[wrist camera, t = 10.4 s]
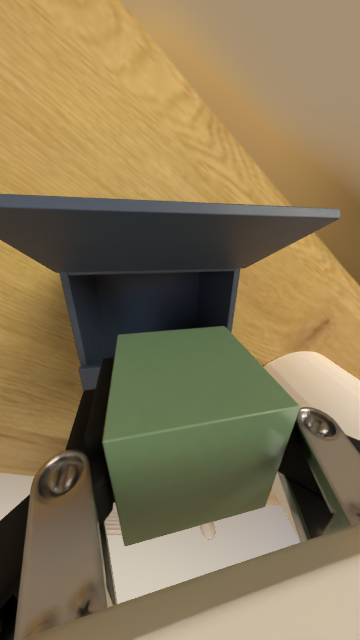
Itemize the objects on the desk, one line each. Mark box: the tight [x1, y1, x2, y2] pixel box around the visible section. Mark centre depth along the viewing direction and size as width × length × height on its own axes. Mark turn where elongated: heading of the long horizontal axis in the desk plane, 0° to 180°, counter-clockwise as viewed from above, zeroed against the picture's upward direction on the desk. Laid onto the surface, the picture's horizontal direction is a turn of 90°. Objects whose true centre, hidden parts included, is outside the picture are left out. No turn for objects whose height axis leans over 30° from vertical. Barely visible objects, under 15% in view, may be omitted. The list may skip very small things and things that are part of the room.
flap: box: [0, 194, 340, 273], centre depth 10 cm, size 7×13×1 cm
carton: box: [60, 268, 240, 391], centre depth 21 cm, size 15×13×10 cm
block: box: [102, 326, 300, 546], centre depth 8 cm, size 5×5×5 cm
